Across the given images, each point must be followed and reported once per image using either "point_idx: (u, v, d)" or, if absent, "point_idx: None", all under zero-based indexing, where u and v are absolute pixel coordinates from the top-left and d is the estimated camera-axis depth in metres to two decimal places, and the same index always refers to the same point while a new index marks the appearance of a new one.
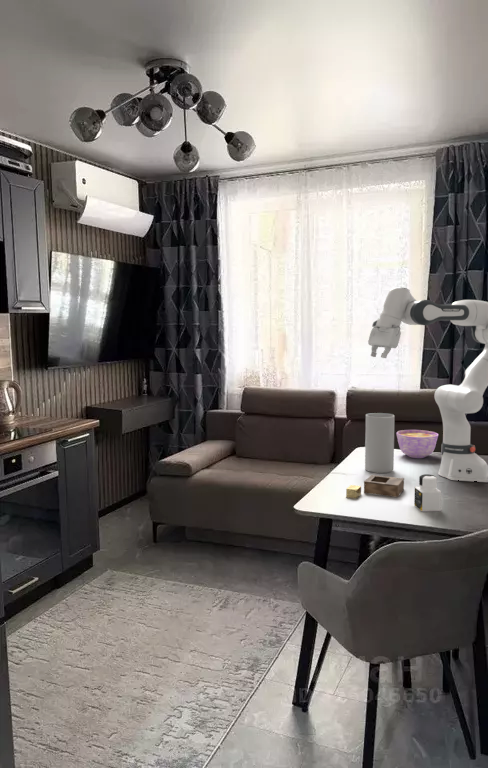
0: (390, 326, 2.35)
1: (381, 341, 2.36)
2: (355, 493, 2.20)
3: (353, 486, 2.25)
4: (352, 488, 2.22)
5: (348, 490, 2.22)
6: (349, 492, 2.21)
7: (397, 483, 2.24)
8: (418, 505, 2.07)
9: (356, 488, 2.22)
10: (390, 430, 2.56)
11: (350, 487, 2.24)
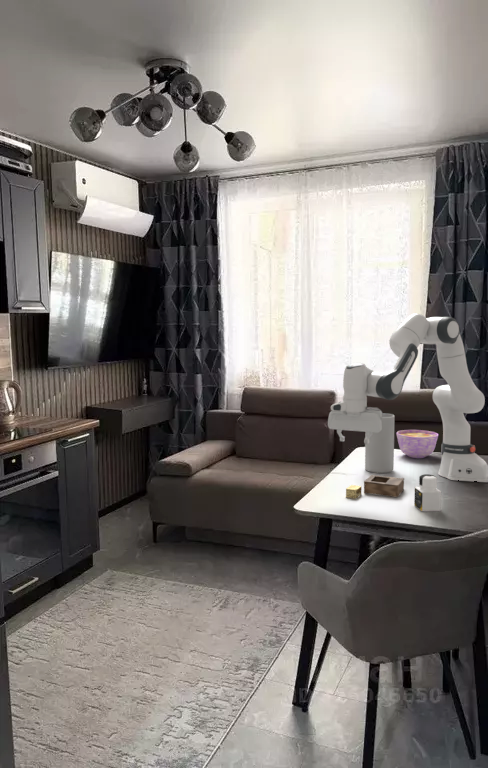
0: (365, 409, 2.18)
1: (358, 427, 2.19)
2: (354, 493, 2.20)
3: (353, 486, 2.25)
4: (352, 488, 2.22)
5: (348, 490, 2.22)
6: (349, 492, 2.22)
7: (397, 483, 2.24)
8: (418, 505, 2.07)
9: (356, 488, 2.22)
10: (390, 430, 2.56)
11: (350, 487, 2.24)
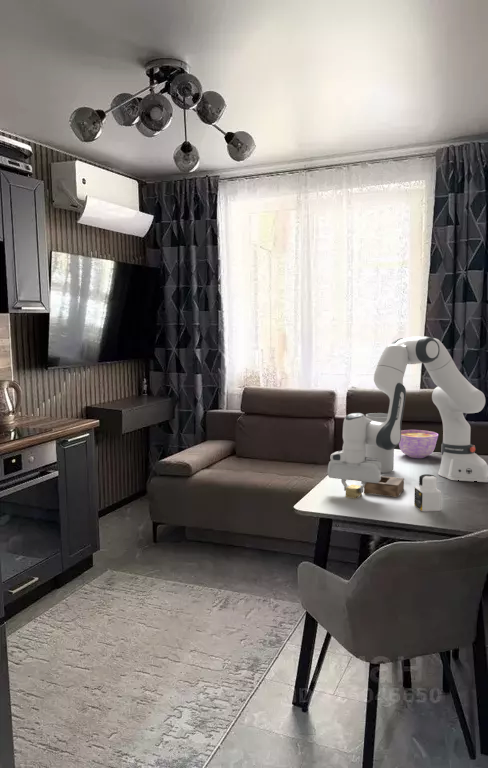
0: (364, 460, 2.20)
1: (358, 477, 2.21)
2: (354, 493, 2.20)
3: (353, 486, 2.25)
4: (352, 487, 2.22)
5: (347, 489, 2.22)
6: (348, 491, 2.22)
7: (397, 483, 2.24)
8: (418, 505, 2.07)
9: (356, 488, 2.22)
10: None
11: (350, 486, 2.24)
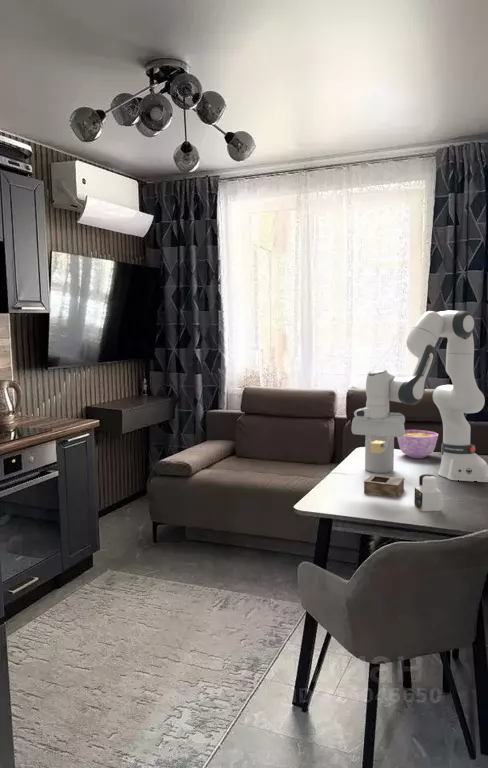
0: (388, 415, 2.23)
1: (382, 432, 2.24)
2: (379, 447, 2.24)
3: (377, 441, 2.29)
4: (376, 443, 2.26)
5: (372, 445, 2.26)
6: (373, 447, 2.26)
7: (397, 483, 2.24)
8: (418, 505, 2.07)
9: (380, 443, 2.26)
10: None
11: (374, 442, 2.28)
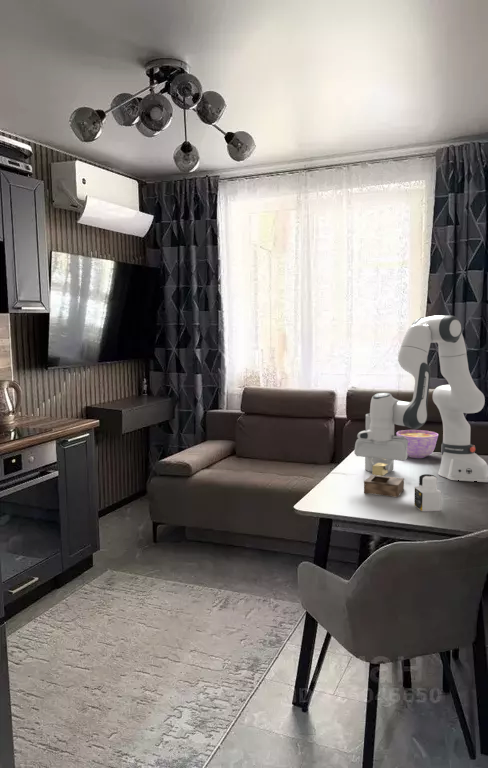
0: (391, 438, 2.25)
1: (385, 455, 2.26)
2: (381, 470, 2.26)
3: (380, 464, 2.31)
4: (378, 465, 2.28)
5: (374, 467, 2.27)
6: (375, 469, 2.27)
7: (397, 483, 2.24)
8: (418, 505, 2.07)
9: (382, 465, 2.28)
10: None
11: (376, 464, 2.29)
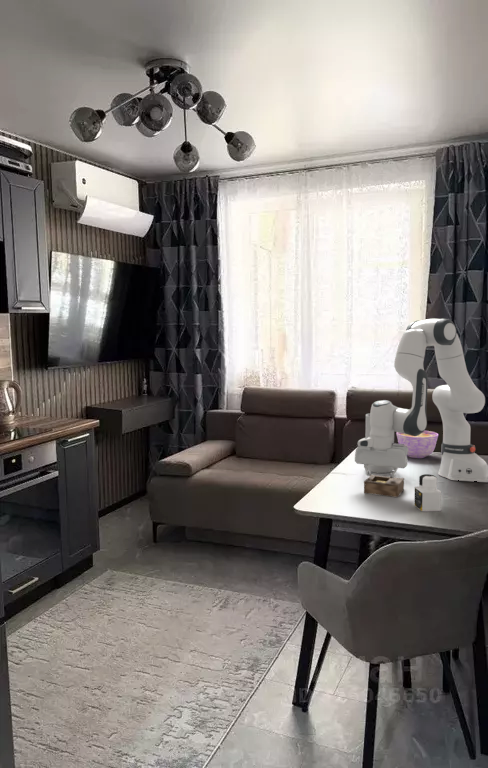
0: (391, 446, 2.26)
1: (385, 462, 2.27)
2: None
3: (379, 481, 2.31)
4: None
5: None
6: None
7: (397, 483, 2.24)
8: (418, 505, 2.07)
9: None
10: None
11: None
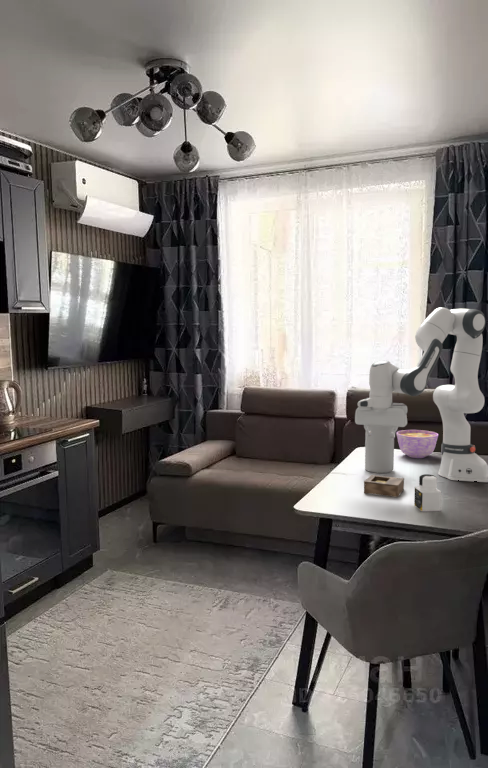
0: (390, 405, 2.28)
1: (385, 422, 2.29)
2: None
3: (379, 481, 2.31)
4: None
5: None
6: None
7: (397, 483, 2.24)
8: (418, 505, 2.07)
9: None
10: (390, 430, 2.56)
11: None
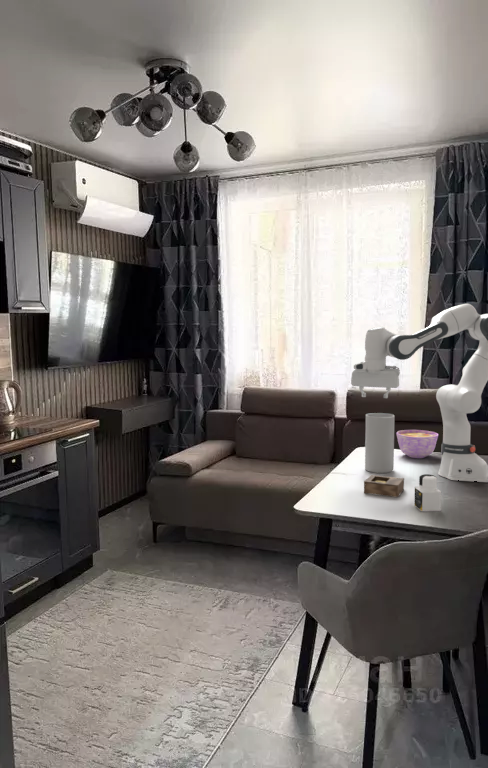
0: (384, 368, 2.46)
1: (379, 383, 2.47)
2: None
3: (379, 481, 2.31)
4: None
5: None
6: None
7: (397, 483, 2.24)
8: (418, 505, 2.07)
9: None
10: (390, 430, 2.56)
11: None
